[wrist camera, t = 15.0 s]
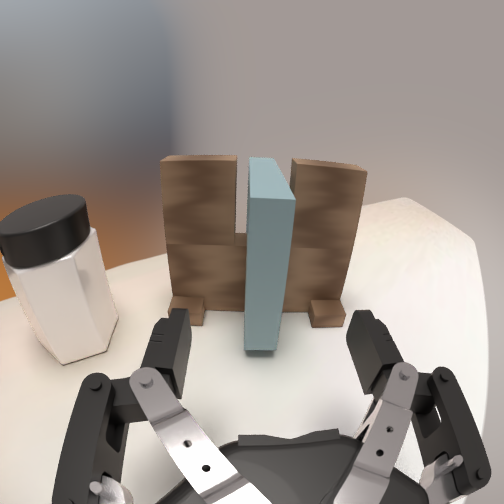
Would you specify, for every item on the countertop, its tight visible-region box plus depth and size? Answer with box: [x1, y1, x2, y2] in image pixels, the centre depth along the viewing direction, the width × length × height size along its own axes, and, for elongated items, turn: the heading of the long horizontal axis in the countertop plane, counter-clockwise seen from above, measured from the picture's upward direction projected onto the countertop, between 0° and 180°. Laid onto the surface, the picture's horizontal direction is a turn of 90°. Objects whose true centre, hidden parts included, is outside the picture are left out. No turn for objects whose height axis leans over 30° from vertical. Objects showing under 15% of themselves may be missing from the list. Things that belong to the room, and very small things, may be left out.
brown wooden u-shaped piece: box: [160, 155, 367, 328], centre depth 24 cm, size 16×7×14 cm, turn 91°
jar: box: [0, 194, 118, 365], centre depth 19 cm, size 9×8×12 cm
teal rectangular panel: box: [244, 157, 296, 350], centre depth 24 cm, size 14×2×12 cm, turn 1°
